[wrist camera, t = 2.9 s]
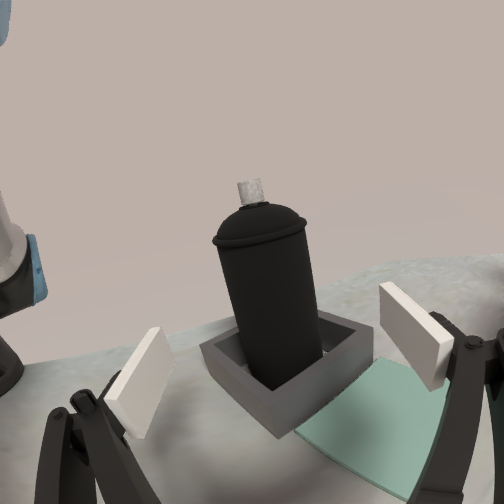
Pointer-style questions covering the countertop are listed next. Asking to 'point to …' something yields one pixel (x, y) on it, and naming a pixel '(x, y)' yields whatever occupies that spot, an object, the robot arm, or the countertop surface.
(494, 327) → the countertop surface
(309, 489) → the countertop surface
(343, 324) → the grey square tray
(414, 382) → the occupied pad
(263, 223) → the aerosol can
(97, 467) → the robot arm
